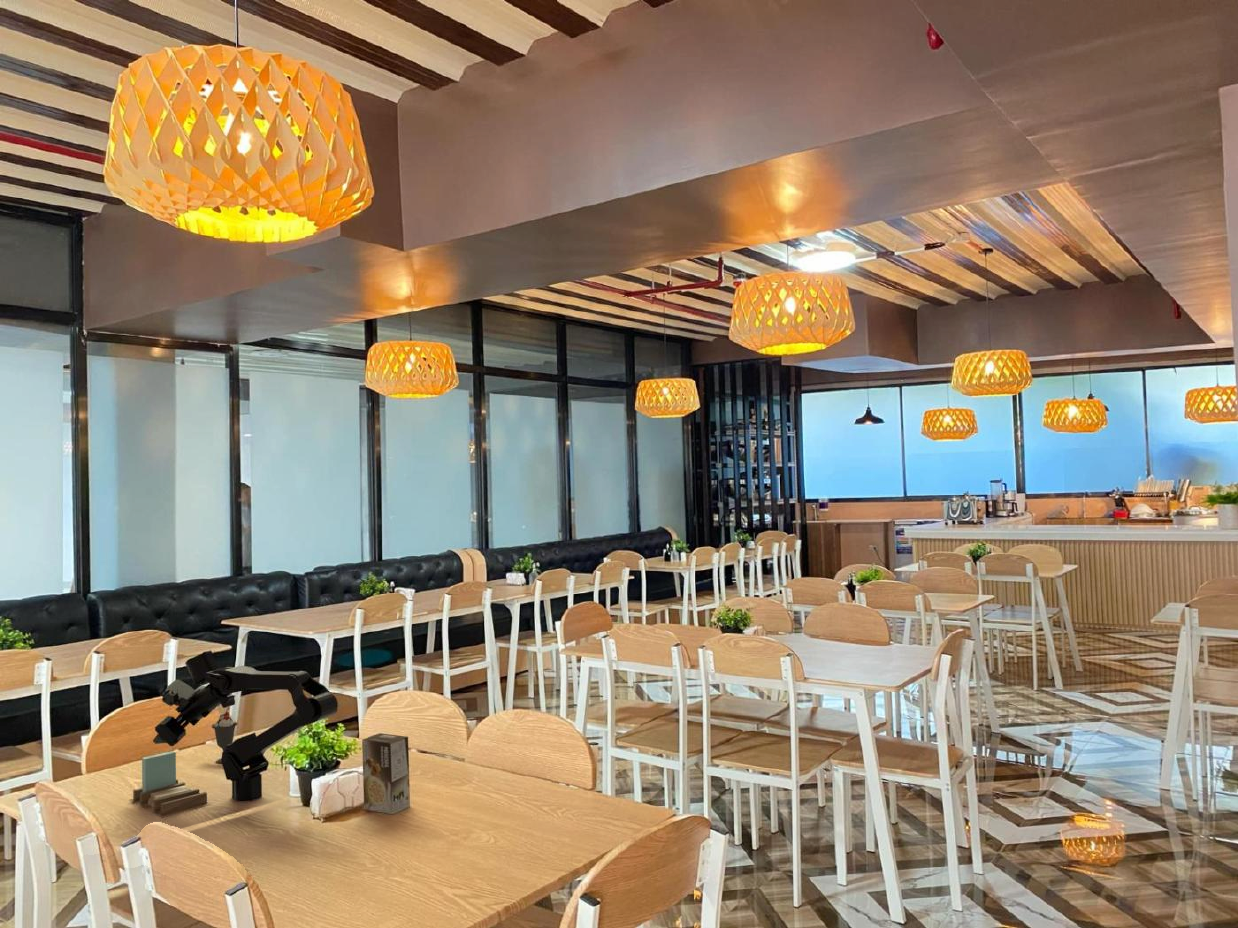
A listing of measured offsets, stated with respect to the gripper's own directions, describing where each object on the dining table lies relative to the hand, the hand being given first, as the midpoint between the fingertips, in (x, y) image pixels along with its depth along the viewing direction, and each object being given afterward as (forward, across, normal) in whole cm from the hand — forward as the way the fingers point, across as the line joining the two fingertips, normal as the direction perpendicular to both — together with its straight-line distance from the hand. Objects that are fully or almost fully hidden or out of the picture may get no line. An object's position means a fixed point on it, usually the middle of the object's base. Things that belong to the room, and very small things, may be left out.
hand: (165, 731), depth 222 cm
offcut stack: (0, +13, +13) cm, 18 cm away
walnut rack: (+1, +13, +14) cm, 19 cm away
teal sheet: (+5, +10, +11) cm, 15 cm away
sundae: (+13, -21, +19) cm, 31 cm away
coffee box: (-43, +13, +44) cm, 63 cm away
